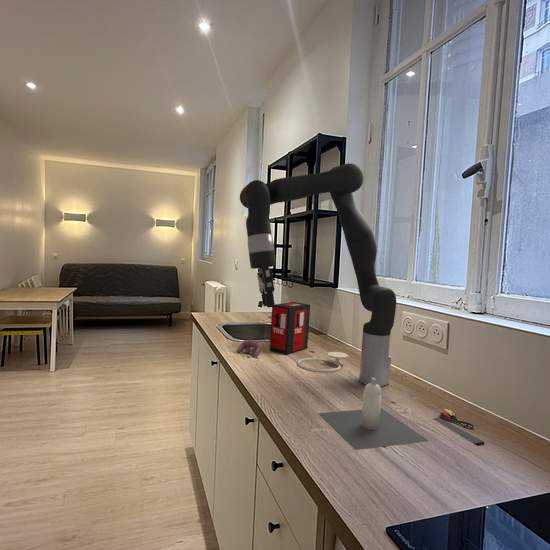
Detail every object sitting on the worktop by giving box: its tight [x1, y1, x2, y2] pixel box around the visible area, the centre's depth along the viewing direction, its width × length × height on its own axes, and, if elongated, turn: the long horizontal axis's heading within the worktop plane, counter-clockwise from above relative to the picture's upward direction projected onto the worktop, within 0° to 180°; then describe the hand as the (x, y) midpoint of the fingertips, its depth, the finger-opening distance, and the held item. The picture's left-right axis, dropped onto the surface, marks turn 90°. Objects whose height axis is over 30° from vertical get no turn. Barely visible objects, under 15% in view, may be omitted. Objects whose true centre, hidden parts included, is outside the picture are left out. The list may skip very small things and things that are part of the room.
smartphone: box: [432, 417, 485, 446], centre depth 104 cm, size 7×1×15 cm
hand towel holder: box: [296, 351, 349, 373], centre depth 157 cm, size 17×4×20 cm
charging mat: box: [317, 407, 430, 451], centre depth 103 cm, size 20×20×1 cm
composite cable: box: [438, 407, 475, 429], centre depth 110 cm, size 10×5×2 cm, turn 25°
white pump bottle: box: [361, 377, 383, 430], centre depth 103 cm, size 4×4×12 cm
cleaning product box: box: [269, 301, 311, 356], centre depth 177 cm, size 16×9×20 cm, turn 144°
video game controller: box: [236, 339, 264, 358], centre depth 167 cm, size 10×5×7 cm, turn 58°
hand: (268, 306), depth 117 cm, fingers open, 8 cm apart
